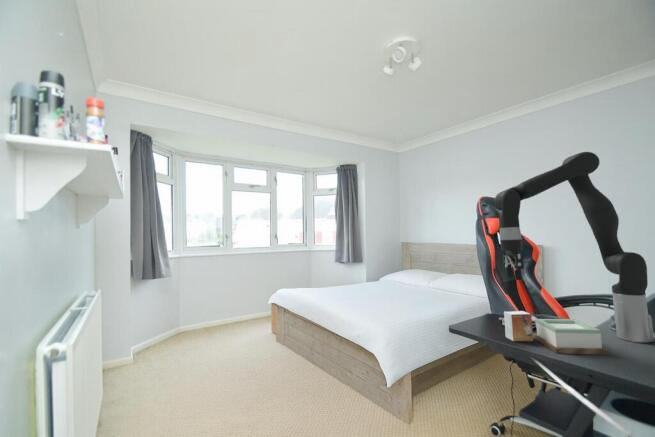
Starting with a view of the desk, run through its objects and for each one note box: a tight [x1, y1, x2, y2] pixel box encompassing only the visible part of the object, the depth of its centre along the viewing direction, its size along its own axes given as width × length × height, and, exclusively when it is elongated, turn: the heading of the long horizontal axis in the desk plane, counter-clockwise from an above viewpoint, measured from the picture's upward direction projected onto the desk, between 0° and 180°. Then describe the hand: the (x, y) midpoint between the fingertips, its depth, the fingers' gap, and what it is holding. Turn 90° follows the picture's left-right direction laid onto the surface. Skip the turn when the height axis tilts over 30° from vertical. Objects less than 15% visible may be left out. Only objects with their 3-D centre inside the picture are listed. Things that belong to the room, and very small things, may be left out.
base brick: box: [536, 318, 603, 348], centre depth 112 cm, size 14×14×6 cm
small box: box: [503, 310, 534, 342], centre depth 121 cm, size 8×6×10 cm
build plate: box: [533, 333, 610, 356], centre depth 112 cm, size 16×17×2 cm
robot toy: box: [498, 314, 538, 329], centre depth 137 cm, size 12×4×15 cm
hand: (514, 278), depth 123 cm, fingers open, 8 cm apart
